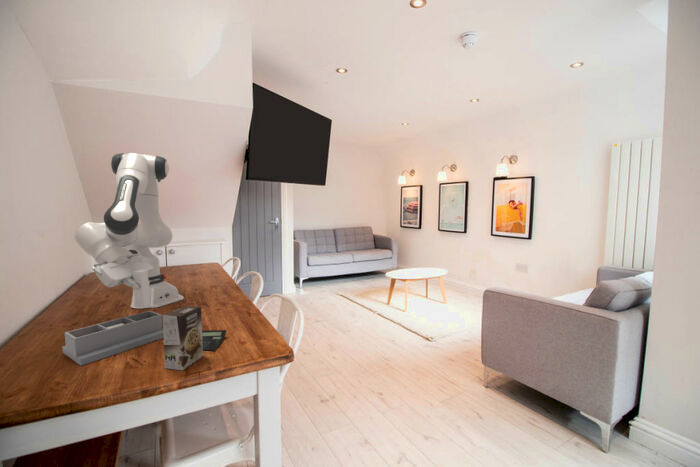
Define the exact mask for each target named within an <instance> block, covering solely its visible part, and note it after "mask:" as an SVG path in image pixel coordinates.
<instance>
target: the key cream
mask: <svg viewBox="0 0 700 467" xmlns="http://www.w3.org/2000/svg"><path fill="white" fill-rule="evenodd" d="M121 325H125V324H122V323H121V324H117V325H114V326H110V327H106V328H108V329H110V328H114V327H117V326H121Z"/></svg>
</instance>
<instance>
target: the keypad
mask: <svg viewBox="0 0 700 467" xmlns="http://www.w3.org/2000/svg"><path fill="white" fill-rule="evenodd" d="M121 323H122V324H125V325H121V326H117V327H114V328H110V329H108V328H106V327H110V326H114V325H117V324H121ZM162 339H164V334H163V314H161V313H159V312H158V313H157V312H155V311H152V310H146V311H143V312H139V313H134V314H131V315H127V316H123V317H119V318H116V319H112V320H108V321H104V322H100V323H96V324H93V325H89V326H84V327H80V328H78V329H73V330H69V331H65V332H64V341H65V342H64V343H65V345H63V346H61V348H62V354H64V355H65V356H67V357H68V358H69V359H71V360H72V361H74V362H75V363H77V365H79V366H80V367H82V366H84V365H85V366H86V365H88V364H90V363H94V362H96V361H100V360H103V359H105V358H109V357H111V356H114V355H116V354H117V355H118V354H120V353H123V352H126V351H130V350H133V349H135V347H136V348H138V346H139V347H142V346H144V345H147V344H150V343H153V342H156V341H158V340H159V341H160V340H162ZM155 340H156V341H155ZM152 341H153V342H152ZM149 342H150V343H149ZM132 348H133V349H132ZM129 349H130V350H129Z"/></svg>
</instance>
